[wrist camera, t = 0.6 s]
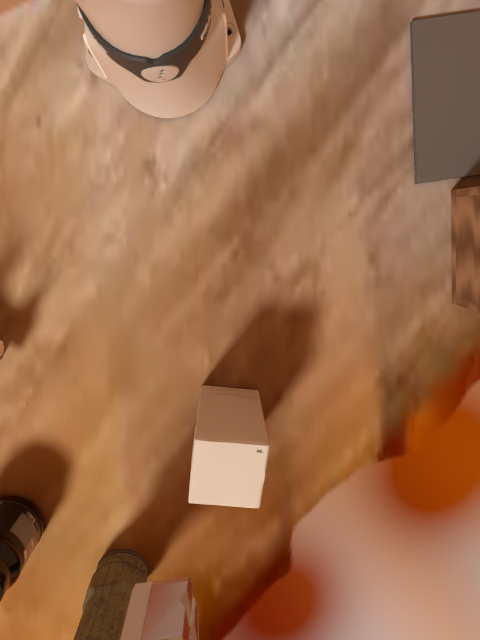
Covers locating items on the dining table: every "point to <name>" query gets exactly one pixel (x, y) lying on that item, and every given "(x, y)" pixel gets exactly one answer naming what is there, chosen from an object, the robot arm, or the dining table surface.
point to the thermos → (110, 595)
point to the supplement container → (16, 537)
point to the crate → (466, 247)
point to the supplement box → (228, 448)
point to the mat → (446, 96)
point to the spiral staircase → (1, 348)
